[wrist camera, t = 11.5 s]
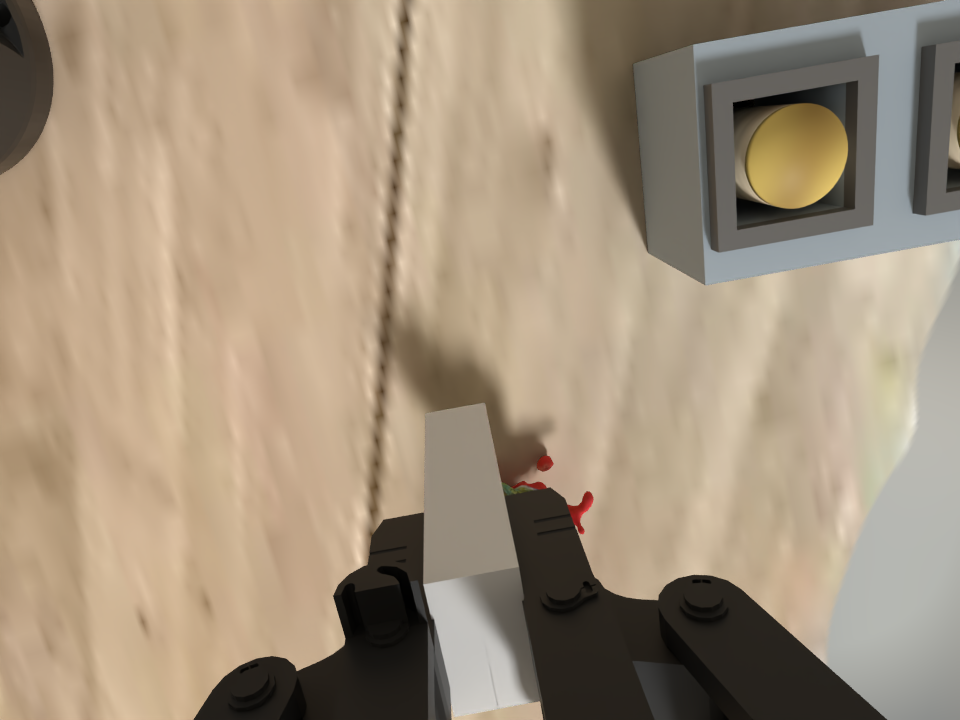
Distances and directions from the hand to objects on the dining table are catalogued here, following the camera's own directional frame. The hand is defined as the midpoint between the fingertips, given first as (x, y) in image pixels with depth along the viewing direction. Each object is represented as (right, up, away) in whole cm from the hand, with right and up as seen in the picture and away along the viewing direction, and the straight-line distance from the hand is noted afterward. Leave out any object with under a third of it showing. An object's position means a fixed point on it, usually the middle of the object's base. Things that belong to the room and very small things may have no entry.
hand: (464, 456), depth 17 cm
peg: (+16, +16, +25) cm, 33 cm away
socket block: (+21, +17, +27) cm, 38 cm away
